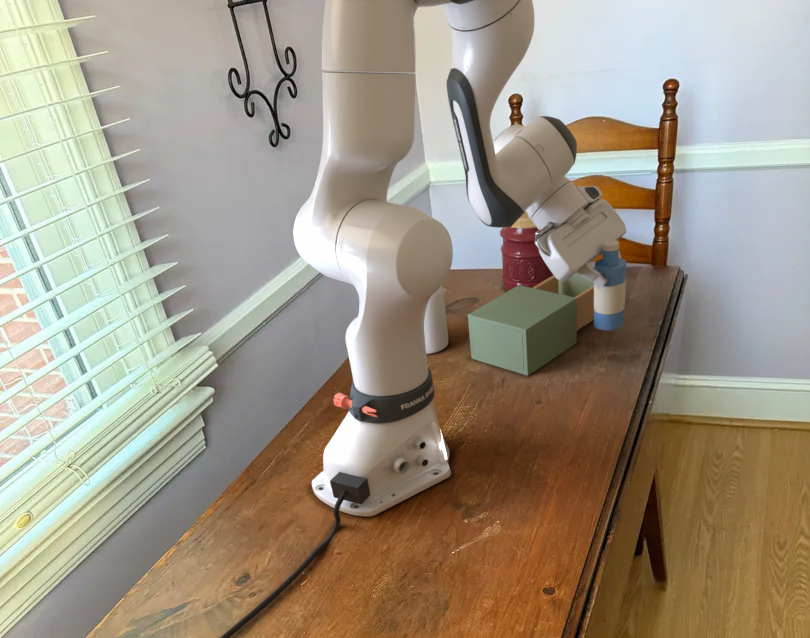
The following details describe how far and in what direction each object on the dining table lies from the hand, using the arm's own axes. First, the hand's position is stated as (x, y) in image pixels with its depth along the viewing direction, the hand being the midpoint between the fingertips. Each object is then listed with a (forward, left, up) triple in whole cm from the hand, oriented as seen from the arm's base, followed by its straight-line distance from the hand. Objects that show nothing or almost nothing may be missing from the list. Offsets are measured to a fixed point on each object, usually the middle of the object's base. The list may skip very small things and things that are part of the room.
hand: (613, 277), depth 134 cm
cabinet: (-9, +13, -13) cm, 20 cm away
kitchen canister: (+17, +31, -13) cm, 37 cm away
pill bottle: (-16, +31, -13) cm, 37 cm away
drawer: (+6, +13, -12) cm, 19 cm away
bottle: (0, +1, -9) cm, 9 cm away
